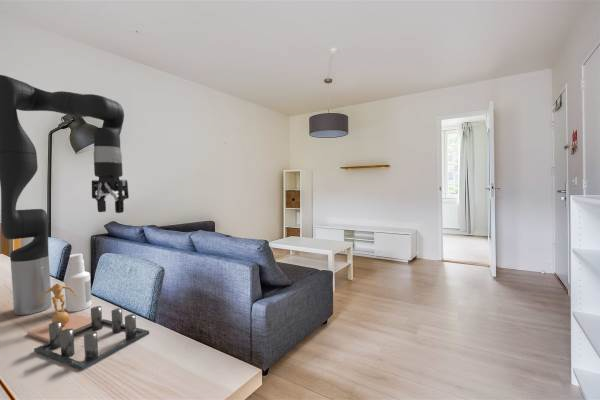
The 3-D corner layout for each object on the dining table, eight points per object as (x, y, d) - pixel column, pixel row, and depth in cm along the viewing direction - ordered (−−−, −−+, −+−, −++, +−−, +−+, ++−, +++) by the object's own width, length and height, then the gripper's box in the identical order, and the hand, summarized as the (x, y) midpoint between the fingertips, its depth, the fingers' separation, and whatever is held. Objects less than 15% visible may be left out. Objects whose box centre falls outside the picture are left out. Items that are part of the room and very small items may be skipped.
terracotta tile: (27, 334, 80) (27, 331, 80) (75, 316, 91) (75, 313, 91) (50, 342, 76) (50, 339, 76) (98, 322, 87) (98, 319, 87)
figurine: (44, 333, 79) (41, 290, 78) (38, 327, 83) (36, 285, 82) (81, 322, 85) (78, 282, 85) (74, 316, 89) (72, 278, 89)
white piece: (96, 305, 100) (93, 253, 99) (75, 313, 93) (72, 257, 92) (82, 302, 102) (79, 251, 101) (61, 310, 96) (57, 256, 95)
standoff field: (34, 351, 72) (32, 328, 71) (103, 321, 87) (102, 302, 87) (82, 370, 64) (80, 344, 64) (149, 333, 80) (148, 312, 80)
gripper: (81, 161, 92) (84, 212, 93) (111, 160, 87) (114, 214, 88) (105, 163, 99) (107, 210, 100) (134, 161, 94) (136, 211, 95)
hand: (110, 212), depth 94 cm, fingers open, 8 cm apart
